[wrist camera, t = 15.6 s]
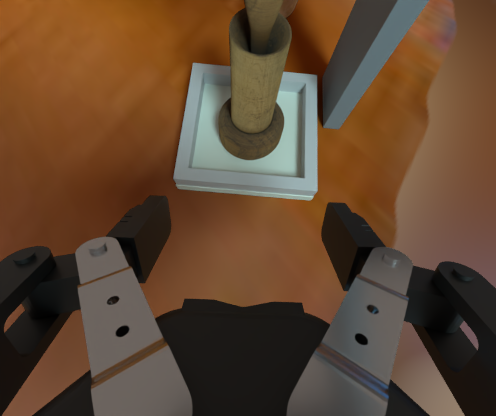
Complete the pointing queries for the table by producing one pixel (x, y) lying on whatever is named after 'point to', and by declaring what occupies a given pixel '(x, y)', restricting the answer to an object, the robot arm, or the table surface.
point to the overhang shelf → (289, 109)
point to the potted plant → (287, 7)
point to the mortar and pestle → (255, 80)
